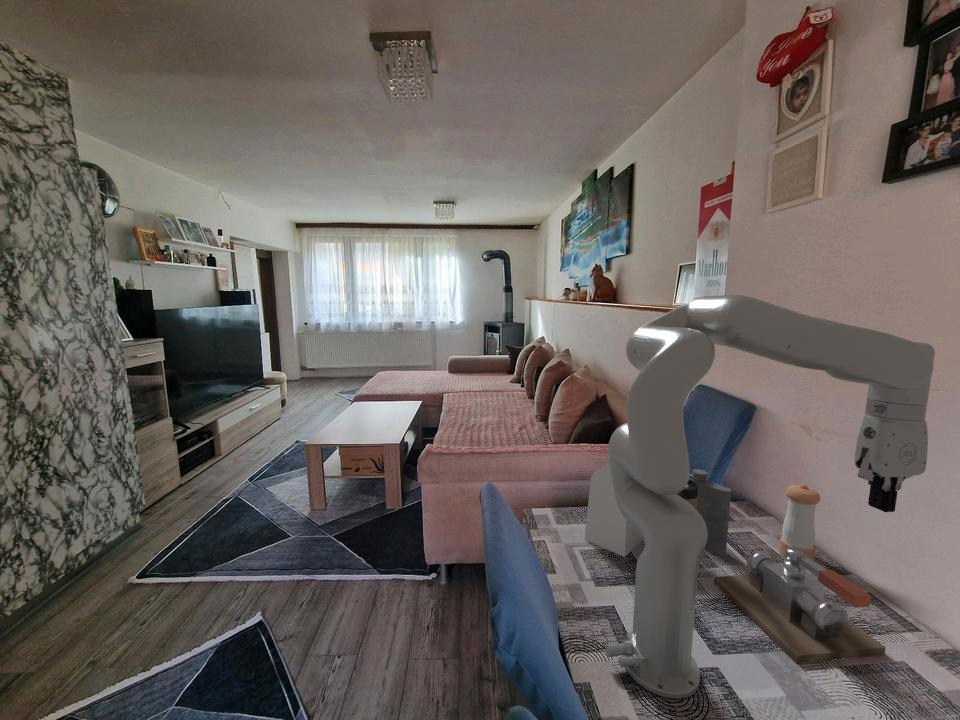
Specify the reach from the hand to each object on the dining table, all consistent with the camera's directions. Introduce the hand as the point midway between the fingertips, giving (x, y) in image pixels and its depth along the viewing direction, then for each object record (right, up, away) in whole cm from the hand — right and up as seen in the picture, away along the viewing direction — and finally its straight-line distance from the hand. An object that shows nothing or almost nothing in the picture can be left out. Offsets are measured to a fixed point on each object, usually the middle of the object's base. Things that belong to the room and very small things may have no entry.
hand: (881, 508), depth 75 cm
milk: (-36, -23, +38) cm, 57 cm away
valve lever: (-8, -15, +3) cm, 17 cm away
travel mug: (-23, -24, +30) cm, 45 cm away
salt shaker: (+9, -24, +32) cm, 40 cm away
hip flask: (-14, -23, +38) cm, 46 cm away
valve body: (-9, -25, +10) cm, 28 cm away
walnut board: (-9, -26, +10) cm, 29 cm away
